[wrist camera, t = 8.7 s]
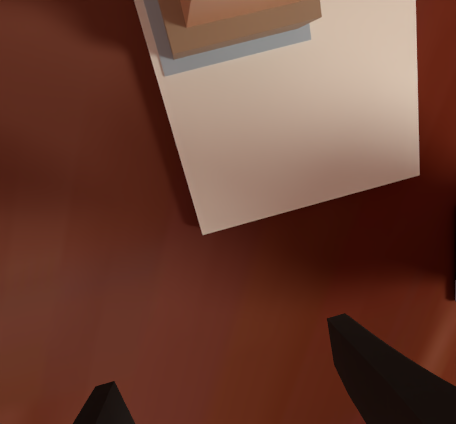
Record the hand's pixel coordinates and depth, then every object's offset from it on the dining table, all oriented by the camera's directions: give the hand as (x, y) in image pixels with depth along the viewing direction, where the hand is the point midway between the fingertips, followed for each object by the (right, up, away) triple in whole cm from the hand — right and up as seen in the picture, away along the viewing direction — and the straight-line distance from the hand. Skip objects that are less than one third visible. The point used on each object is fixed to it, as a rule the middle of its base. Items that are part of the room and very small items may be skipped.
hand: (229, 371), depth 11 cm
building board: (+3, +13, +6) cm, 15 cm away
